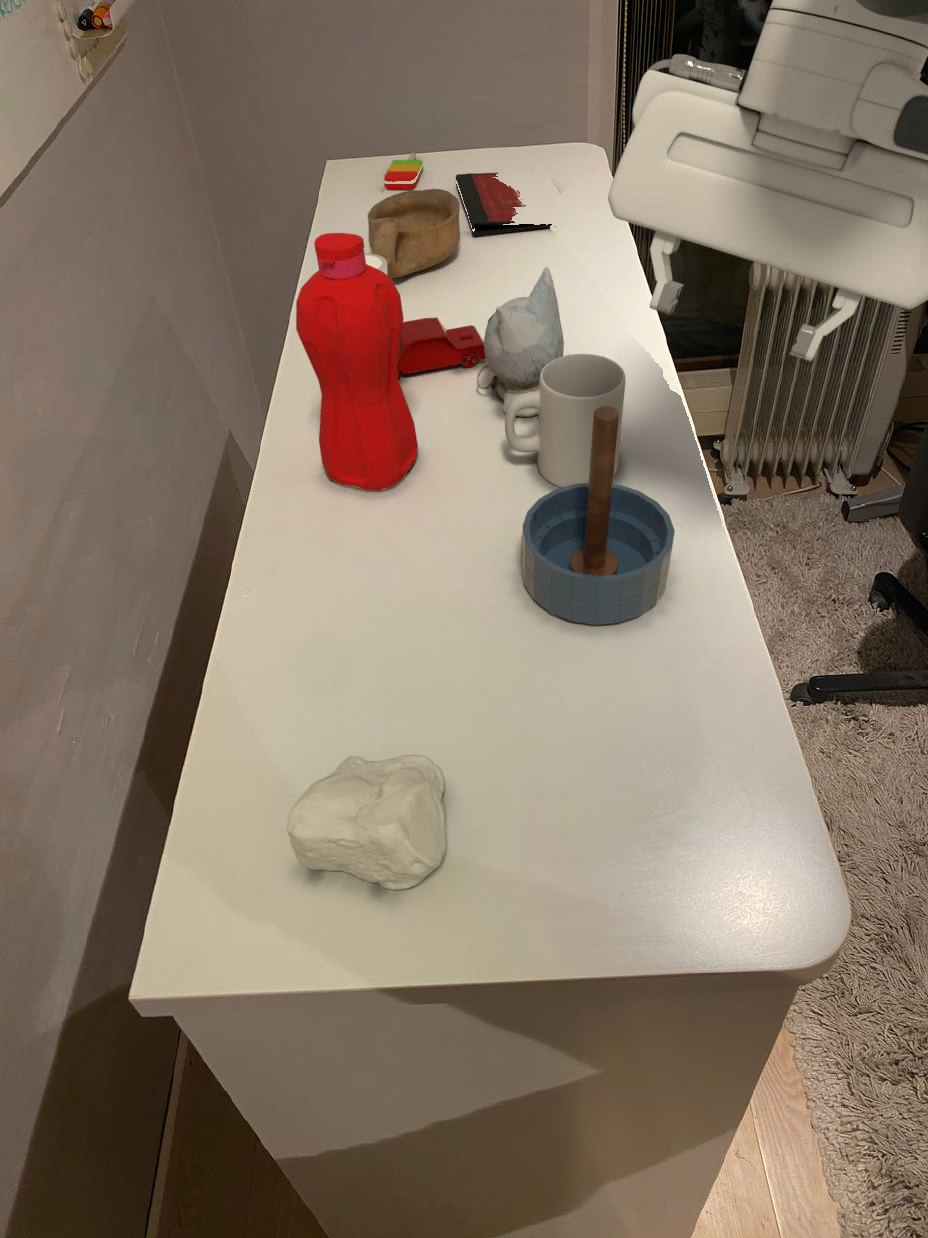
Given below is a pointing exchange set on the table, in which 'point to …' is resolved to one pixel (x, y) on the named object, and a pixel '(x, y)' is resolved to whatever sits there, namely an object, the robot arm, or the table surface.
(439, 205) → the bowl
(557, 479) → the mug
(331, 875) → the table surface
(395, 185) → the popsicle
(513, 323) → the figurine
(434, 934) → the table surface
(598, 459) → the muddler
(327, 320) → the water bottle
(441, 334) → the toy car
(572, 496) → the stir bowl
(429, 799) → the decorative stone
